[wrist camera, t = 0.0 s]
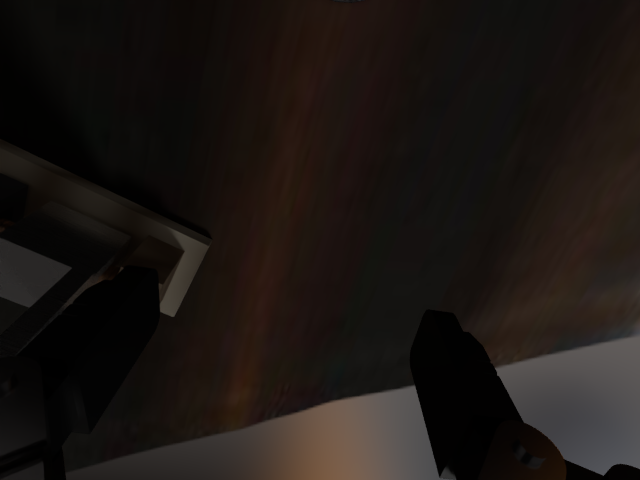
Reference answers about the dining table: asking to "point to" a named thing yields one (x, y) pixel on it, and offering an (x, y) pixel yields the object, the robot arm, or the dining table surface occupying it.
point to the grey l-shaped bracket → (52, 266)
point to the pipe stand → (114, 221)
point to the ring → (12, 198)
